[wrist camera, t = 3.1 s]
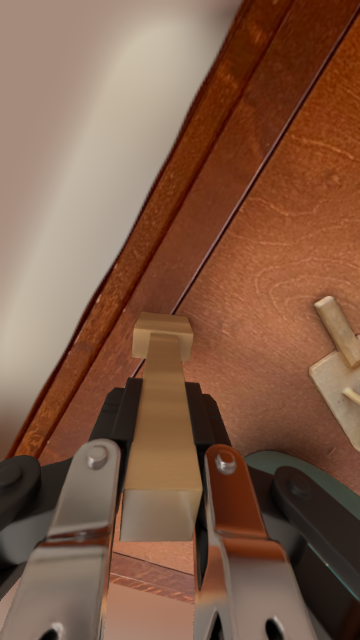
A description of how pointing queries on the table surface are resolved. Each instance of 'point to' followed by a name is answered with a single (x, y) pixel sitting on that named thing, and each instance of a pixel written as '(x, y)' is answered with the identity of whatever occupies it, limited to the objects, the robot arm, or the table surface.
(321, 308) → the wooden toy
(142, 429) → the stick
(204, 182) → the table surface
